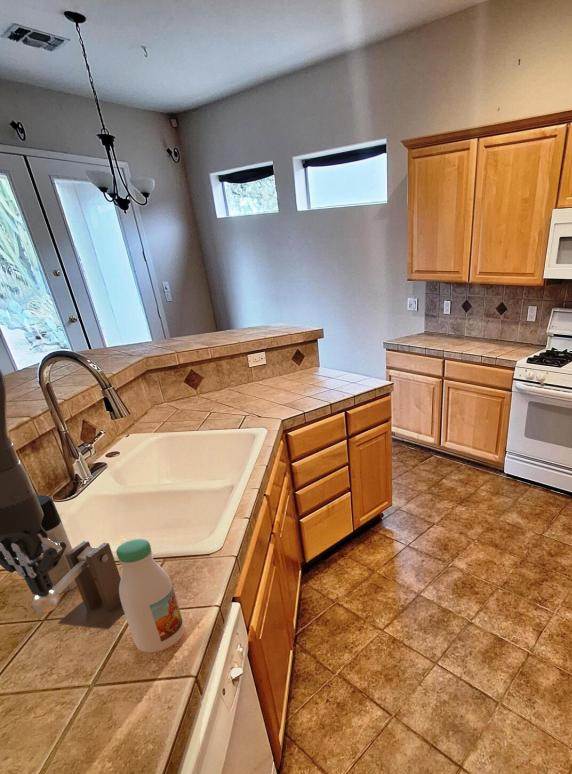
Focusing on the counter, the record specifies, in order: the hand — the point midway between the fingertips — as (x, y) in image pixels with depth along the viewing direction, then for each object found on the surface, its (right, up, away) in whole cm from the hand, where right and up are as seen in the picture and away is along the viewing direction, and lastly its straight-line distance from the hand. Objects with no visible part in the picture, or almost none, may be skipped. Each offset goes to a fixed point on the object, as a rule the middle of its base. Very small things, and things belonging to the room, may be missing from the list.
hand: (43, 591), depth 69 cm
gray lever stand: (+1, -7, +14) cm, 16 cm away
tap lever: (+1, 0, +6) cm, 6 cm away
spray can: (-11, -4, +19) cm, 23 cm away
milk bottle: (+15, -11, +7) cm, 20 cm away
